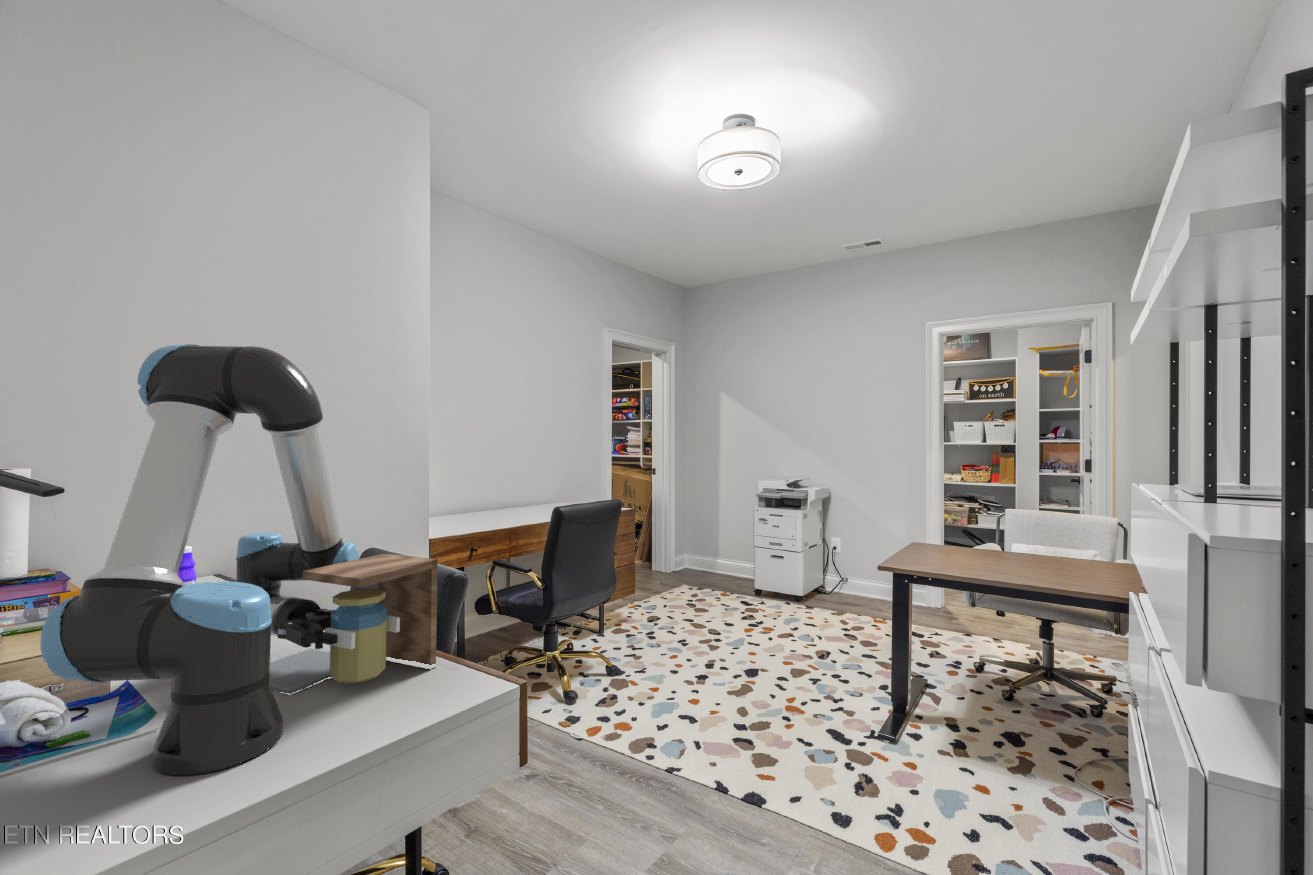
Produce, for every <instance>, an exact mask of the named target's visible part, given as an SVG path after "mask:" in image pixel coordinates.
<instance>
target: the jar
mask: <svg viewBox="0 0 1313 875" xmlns="http://www.w3.org/2000/svg"><path fill="white" fill-rule="evenodd" d="M384 598H386V592H385V591H382V590H380V589H378V588H358V589H350V590H346V591H341V592H339V593H337V594H335V595H334V596H332V604H334V605H336V606H339V608H338V607H337V608H336V609H334V610H335V611H333V612H332V613H331V628H334V629H339V630H345V631H351V632H355V648H354V649H347V648H342V647H337V646H332V645H329V653H330V677H332V678H331V679H333V680H335V681H336V682H337V683H341V684H359V683H364V682H367V681H370V680H373V679H375V678H377V677H378V676H379V675H380V674H381V673H382V672H384V671H385V669H386V667H387V666H386V665H387V664H386V663H387V661H386V625H387V607H385V606H383V605H382V604H380V603H379V602H380V601H381V600H383V599H384Z"/></svg>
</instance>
